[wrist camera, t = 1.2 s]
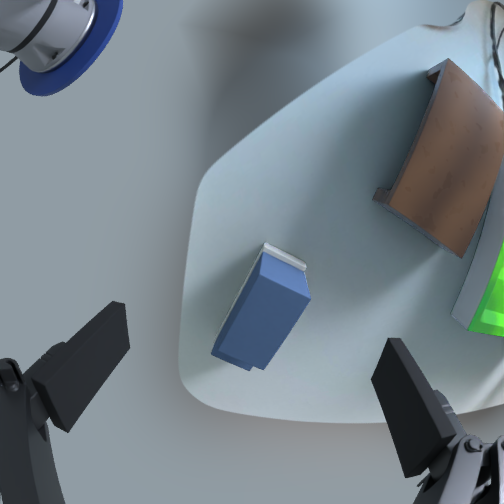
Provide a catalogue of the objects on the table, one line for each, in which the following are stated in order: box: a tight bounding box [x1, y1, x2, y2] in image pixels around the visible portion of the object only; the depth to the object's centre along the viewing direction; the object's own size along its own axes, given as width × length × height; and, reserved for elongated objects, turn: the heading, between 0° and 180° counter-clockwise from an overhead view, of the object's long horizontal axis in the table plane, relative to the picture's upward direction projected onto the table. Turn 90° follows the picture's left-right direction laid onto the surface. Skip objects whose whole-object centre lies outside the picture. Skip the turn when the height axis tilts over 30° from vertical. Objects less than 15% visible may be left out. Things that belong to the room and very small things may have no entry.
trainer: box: [211, 242, 311, 371], centre depth 29 cm, size 5×14×9 cm, turn 154°
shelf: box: [372, 58, 504, 258], centre depth 24 cm, size 12×20×5 cm, turn 154°
